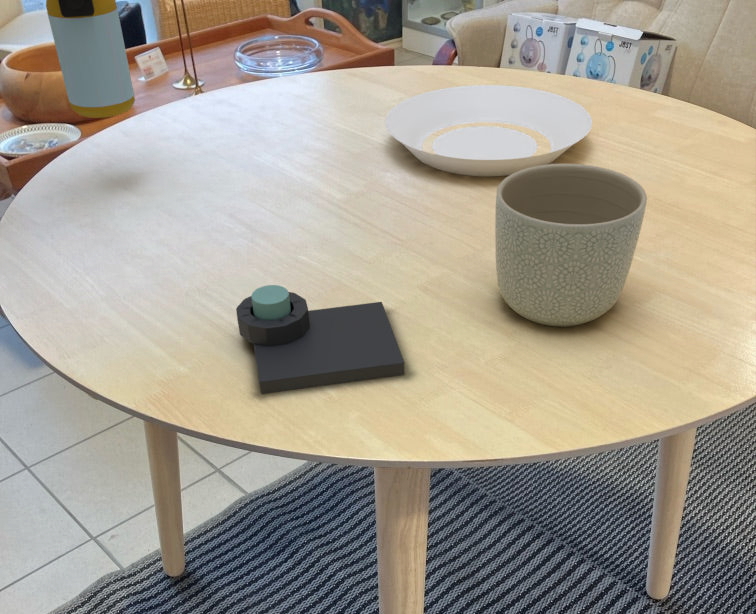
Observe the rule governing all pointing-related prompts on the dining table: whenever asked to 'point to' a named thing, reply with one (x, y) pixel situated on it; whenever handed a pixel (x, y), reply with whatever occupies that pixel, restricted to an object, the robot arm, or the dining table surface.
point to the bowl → (487, 127)
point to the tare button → (271, 302)
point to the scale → (321, 345)
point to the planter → (566, 240)
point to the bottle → (93, 60)
